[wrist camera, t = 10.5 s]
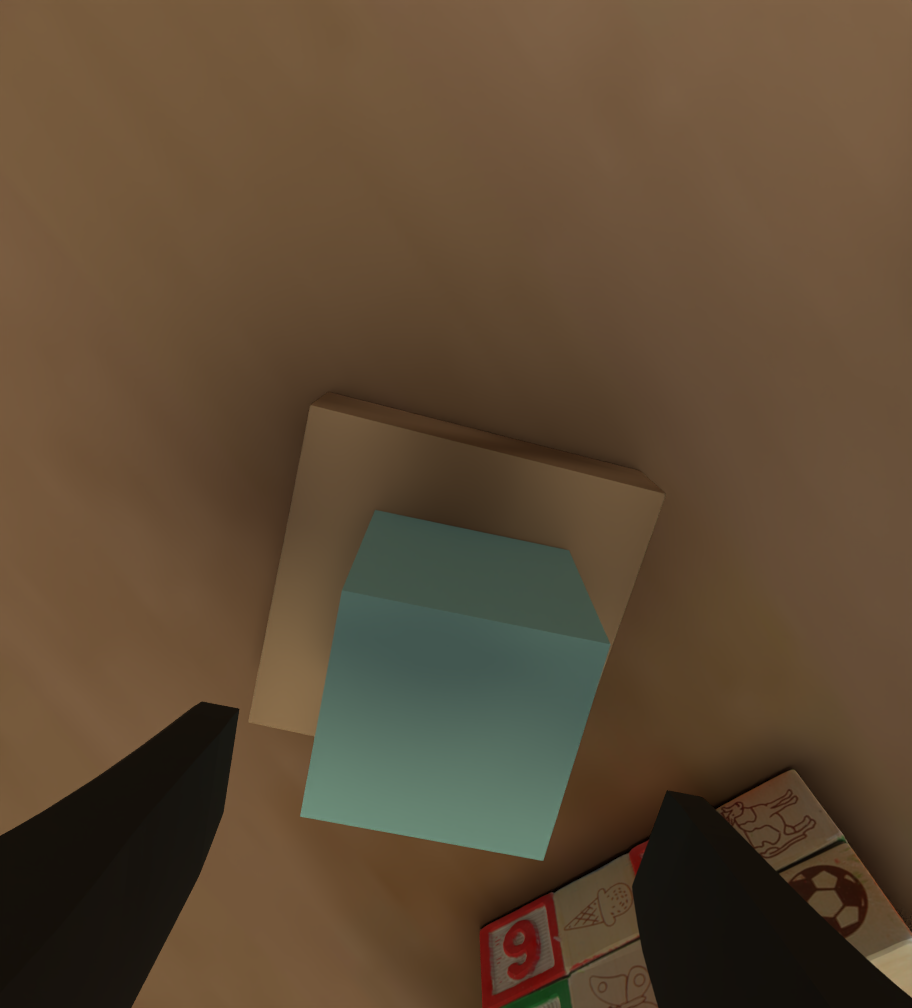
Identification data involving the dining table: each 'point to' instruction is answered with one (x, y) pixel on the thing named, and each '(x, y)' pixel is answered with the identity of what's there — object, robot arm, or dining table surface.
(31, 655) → the dining table surface
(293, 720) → the walnut block
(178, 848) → the robot arm
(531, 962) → the stack of blocks
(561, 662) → the teal cube
